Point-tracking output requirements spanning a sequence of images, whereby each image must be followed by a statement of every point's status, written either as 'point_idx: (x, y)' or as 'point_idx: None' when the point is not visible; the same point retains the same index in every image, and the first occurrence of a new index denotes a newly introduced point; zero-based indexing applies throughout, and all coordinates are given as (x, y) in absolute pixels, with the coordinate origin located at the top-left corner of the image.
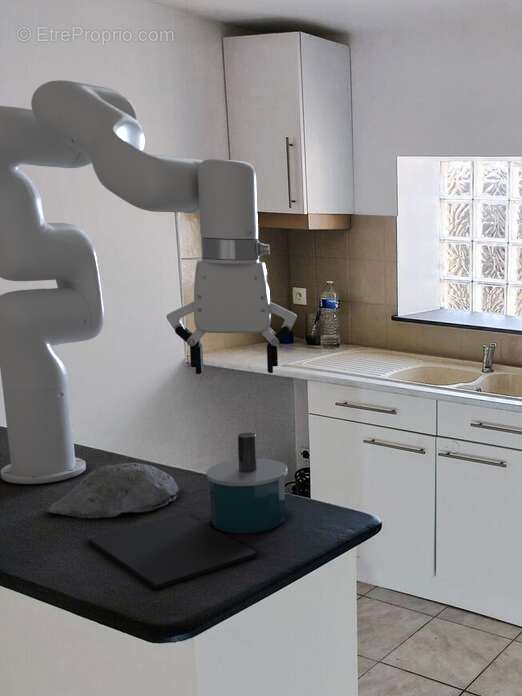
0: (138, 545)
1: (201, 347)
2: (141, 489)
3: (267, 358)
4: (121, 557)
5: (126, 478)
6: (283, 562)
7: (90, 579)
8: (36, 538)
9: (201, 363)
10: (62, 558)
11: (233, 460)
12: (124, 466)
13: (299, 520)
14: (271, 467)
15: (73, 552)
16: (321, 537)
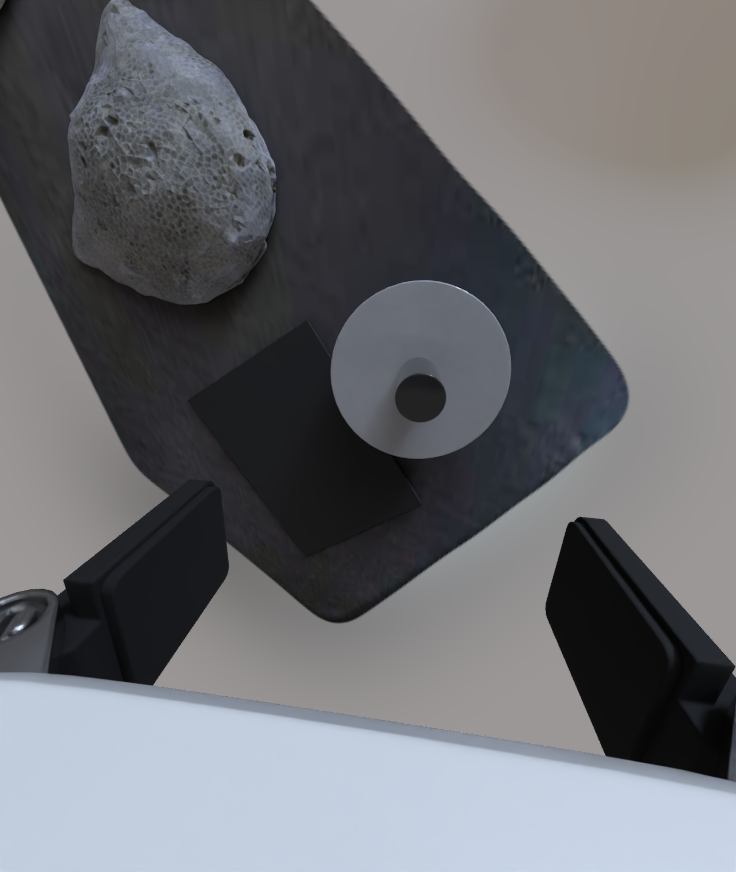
0: (261, 442)
1: (135, 622)
2: (208, 258)
3: (578, 684)
4: (249, 475)
5: (164, 231)
6: (453, 525)
7: (230, 510)
8: (115, 364)
9: (202, 584)
10: (177, 444)
11: (386, 293)
12: (133, 160)
13: None
14: (473, 370)
15: (183, 427)
16: (522, 459)
